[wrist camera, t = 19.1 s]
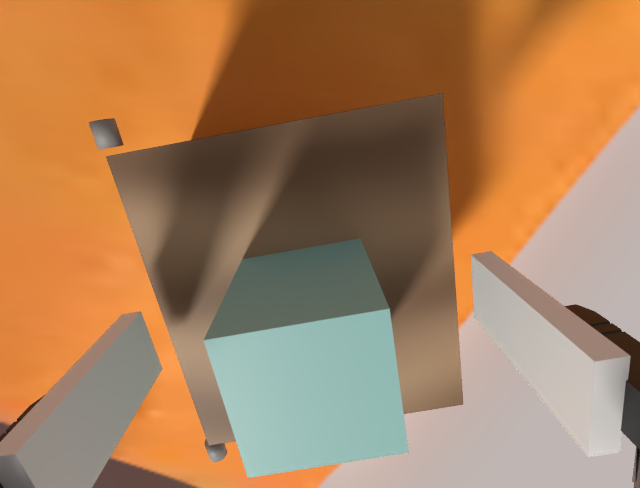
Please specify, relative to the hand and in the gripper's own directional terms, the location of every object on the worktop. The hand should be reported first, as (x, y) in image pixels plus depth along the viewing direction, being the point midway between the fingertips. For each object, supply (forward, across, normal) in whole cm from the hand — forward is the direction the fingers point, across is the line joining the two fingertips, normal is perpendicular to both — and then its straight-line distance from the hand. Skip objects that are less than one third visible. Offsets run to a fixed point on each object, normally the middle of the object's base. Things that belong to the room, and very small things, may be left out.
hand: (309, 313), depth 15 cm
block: (+2, 0, 0) cm, 2 cm away
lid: (+2, 0, 0) cm, 2 cm away
